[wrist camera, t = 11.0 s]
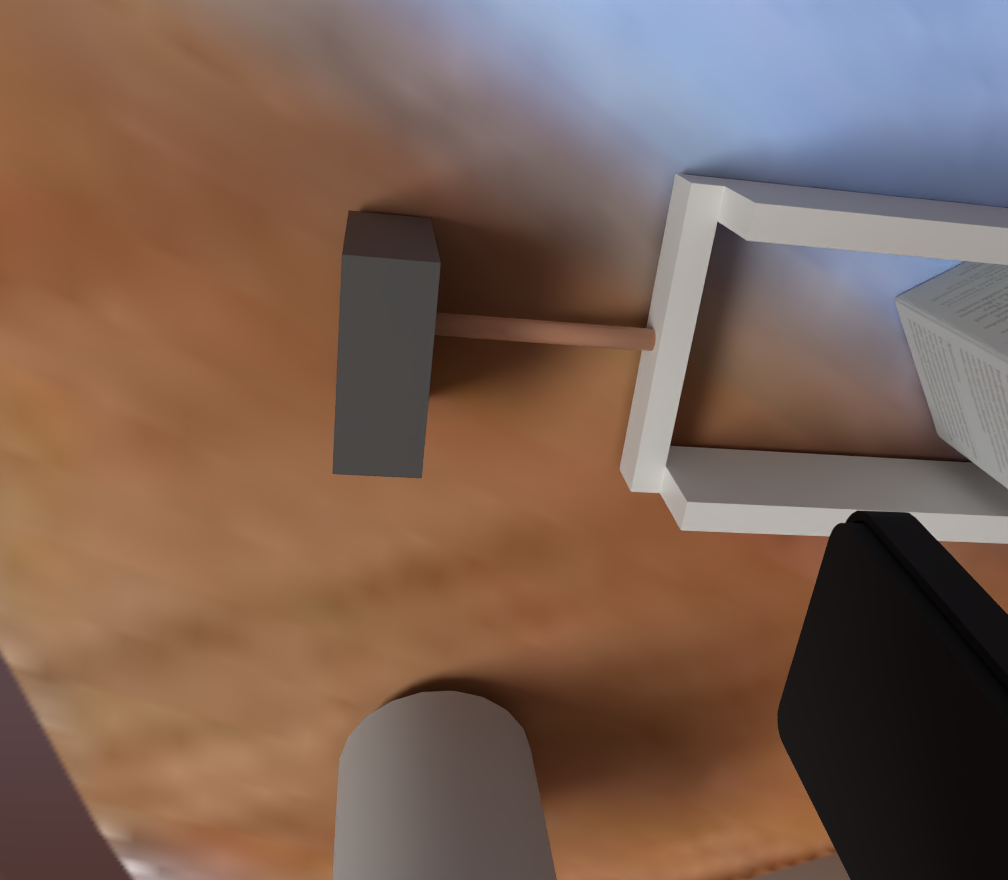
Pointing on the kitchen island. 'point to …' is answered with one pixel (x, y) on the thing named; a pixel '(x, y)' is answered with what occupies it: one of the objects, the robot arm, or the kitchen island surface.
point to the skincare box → (964, 358)
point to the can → (440, 795)
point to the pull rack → (665, 360)
